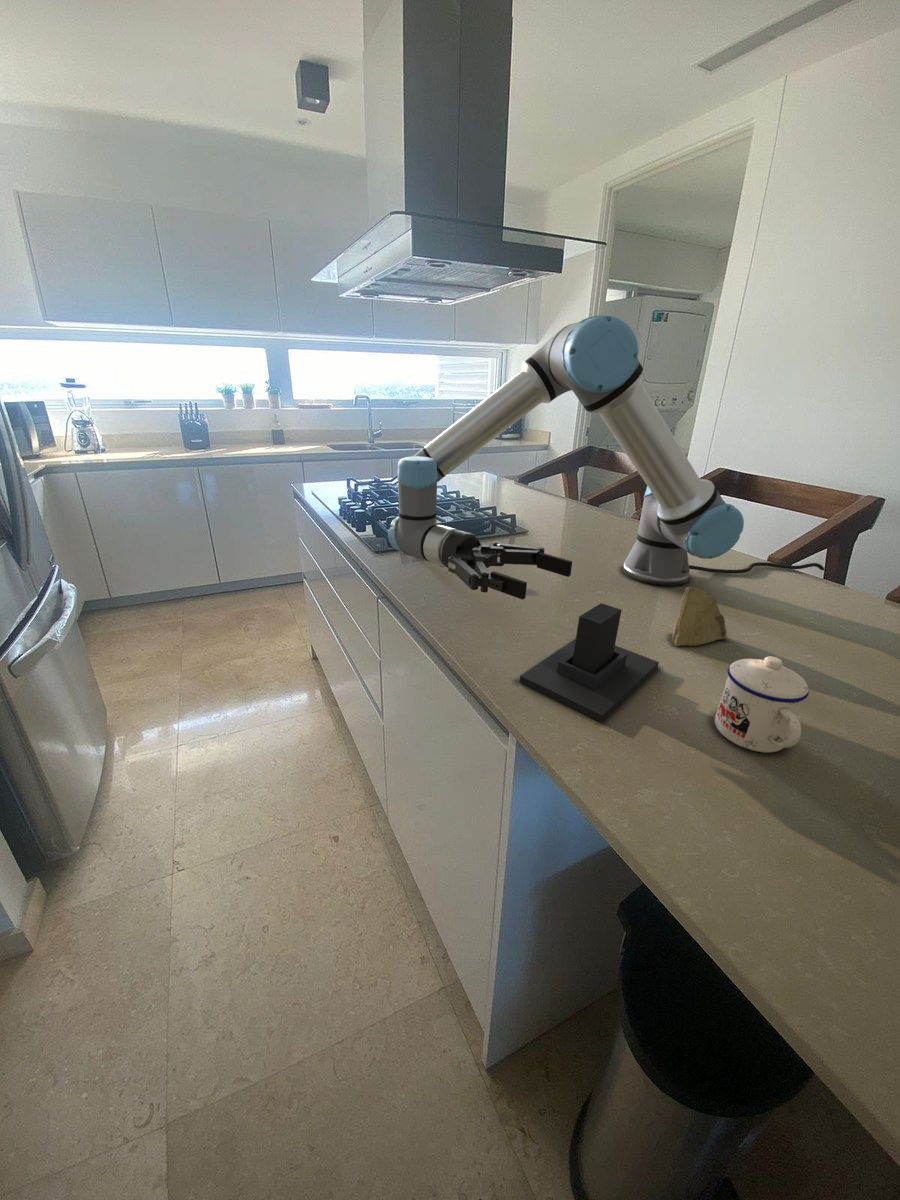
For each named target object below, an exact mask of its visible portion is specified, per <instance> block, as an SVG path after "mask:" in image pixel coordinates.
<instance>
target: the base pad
mask: <svg viewBox="0 0 900 1200" xmlns="http://www.w3.org/2000/svg"><path fill="white" fill-rule="evenodd" d="M575 642H576V638H574V639H573V640H571V641H570V642H568V643H567V644H565V645H563V646H562V647H561V648H560V649H558V650H557V651H555V652H554V653H551V655H549V656H547V657H546V658H544V659H543V660H542V661H540V662H539V663H536V664H535V665H534V666H532V667H530V669H528V670H526V671H525V672H524V673H522V674H520V675H519V683H521V684H522V685H525V686H527V687H528V688H530V689H533V690H534V691H537V692H539V693H541V694H543V695H545V696H547V697H549V698H551V699H553V700H555V701H557V702H559V703H561V704H563V705H565V706H567V707H569V708H571V709H573V710H575V711H578V712H580V713H582V714H583V715H586V716H588V717H590V718H592V719H593V720H596V721H598V722H600V723H602V722H603V721H604V720H606V718H608V716H609V715H611V714H612V713H613V712H614V710H616V709H617V708H618V707H619V706H620V705H621V704H622V703H623V702H624V701H625V700H626V699H628V698H629V696H631V695H632V693H633V692H634V691H636V690H637V688H638V687H639V686H640V685H642V684H643V683H644V682H645V681H646V680H647V679H648V678H649V677H650V676H651V675H652V674H653V673H654V672H655V671H656V670H657V669H658V668H659V664H660V662H659V661H658V660H655V659H652V658H649V657H647V656H644V655H642V654H639V653H636V652H633V651H632V650H629V649H626V648H623V647H620V646H617V645H615V648H614V653H613V658H612V662H611V663H609V664H608V665H607V666H606V667H604V668H603V669H602V670H601V671H600V672H598V673H597V674H596V675H594V674H592V673H590V672H587V671H585V670H583V669H580V668H578V667H576V666H573V665H572V661H573V655H574V648H575Z"/></svg>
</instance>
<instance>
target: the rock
mask: <svg viewBox="0 0 900 1200" xmlns="http://www.w3.org/2000/svg"><path fill="white" fill-rule="evenodd" d="M717 603H718V602H717V599H716V598H714V597H713V596H712V595H710V594H709V593H707V592H706V591H705V590H703V589H701V588H698V587H691V586H687V587H685V590H684V592H683V595H682V597H681V600H680V607H679V615H678V617H677V620H676V622H675V625H674V628H673V632H672V637H671V638H672V640H671V641H672V643H673V644H674V646H675V647H680V646H691V647H692V646H695V647H696V646H701V645H705V644H708V643H713V642H715V641H718V640H719V641H720V640H725V639H727V637H728V635H727V631H728V630H727V628H726V621H725V617H724V615H723V614H722V613H721V610H720V608H719V606H718V604H717Z"/></svg>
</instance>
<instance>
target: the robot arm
mask: <svg viewBox="0 0 900 1200" xmlns="http://www.w3.org/2000/svg"><path fill="white" fill-rule="evenodd" d="M638 354H639V344H638V339H637V336H636V334H635V332H634V330H633V329H632V328H631V326H630V325H629V324H627V322H625V321H624V320H622V319H620V318H618V317H615V316H611V315H592V316H589V317H585V318H584V319H582V320H580V321H578V322H574V323H570V324H568V325H565V326H564V327H562V328H561V329H559V330H557V332H556V333H554V334H553V335H552V336H551V337H550V338H549V339H548V340H547V341H546V342H545V343H544V344H543V345H542V346H541V347H539V348H538V349H537V350H536V351H535V352H534V353H533V354H532V355H531V356H529V357H528V358H527V359H525V360H524V361H523V362H522V363H521V368H520V371H519V372H518V373H516V374H515V375H514V376H512V377H511V378H510V379H508V380H507V381H506V382H505V383H504V384H502V385H501V386H500V387H499V388H497V389H496V390H494V391H493V392H492V393H491V394H489V395H488V396H487V397H486V398H485V399H483V400H482V401H481V402H479V403H478V404H477V405H476V406H474V407H473V408H472V409H470V410H469V411H468V412H467V413H466V414H464V415H463V416H462V417H461V418H459V419H458V420H456V421H455V422H454V423H453V424H452V425H450V426H449V427H448V428H447V429H445V430H444V431H443V432H441V433H440V434H439V435H438V436H436V437H435V438H434V439H432V440H431V441H430V442H429V443H427V444H426V445H425V446H424V447H423V448H421V449H420V450H419V451H417V452H416V453H415V454H414V455H411V456H404V457H402V458H400V459H399V461H398V463H397V474H396V476H397V493H398V497H397V498H398V516H396V517H395V518H393V519H392V521H391V523H390V525H389V529H388V530H387V538H388V542H389V544H390V545H391V547H393V548H394V549H395V550H396V551H399V552H400V553H403V554H404V555H406V556H410V557H414V558H417V559H420V560H423V561H426V562H429V563H432V564H435V565H437V566H439V567H440V568H446V569H448V572H449V573H452V574H455V575H456V577H458V578H459V580H461V581H462V582H463V583H464V584H465V585H466V586H467V587H468V588H469V589H470V590H472V591H477V590H479V587H480V592H481V593H488V591H489V589H492V590H494V591H497V592H499V593H503V594H506V595H509V596H511V597H514V598H516V599H519V600H525V599H526V598H527V597H526V596H527V585H528V581H525V580H523V579H519V578H516V577H512V576H510V575H506V574H504V573H500V572H498V571H495V570H492V571H490V572H489V570H488V569H489V568H490V567H504V566H505V565H524V566H525V565H526V566H536V568H537V569H541V570H544V571H547V572H551V573H554V574H556V575H557V574H558V575H560V576H564V577H567V578H569V577H571V575H572V568H573V567H572V566H573V561H572V560H570V559H567V558H563V557H559V556H555V555H552V554H548V553H545V550H546V549H545V548H544V547H542V546H529V545H520V544H510V543H503V542H500V541H493V543H492V546H491V545H490V544H482V543H481V542H480V540H479V538H478V537H477V536H476V534H473V533H471V532H468V531H467V532H466V531H464V530H459V529H457V528H453V527H450V526H446V525H443V524H439V523H437V517H438V515H437V514H438V512H437V507H438V506H437V504H438V503H437V501H438V483H439V482H440V481H441V480H442V479H444V478H445V477H446V476H447V475H448V474H450V473H451V472H452V471H454V470H455V469H456V468H458V467H459V466H460V465H462V464H463V463H464V462H466V461H467V460H468V459H470V458H471V457H472V456H474V455H475V454H476V453H478V451H480V450H482V449H483V448H484V447H485V446H486V445H488V444H489V443H491V442H492V441H494V440H495V438H497V437H498V436H500V435H501V434H502V433H504V432H505V431H506V430H507V429H509V428H510V427H511V426H513V425H514V424H516V423H517V422H518V421H520V420H521V419H522V418H523V417H525V416H526V415H527V414H528V413H529V412H531V411H532V410H533V409H535V408H537V407H538V406H539V405H541V404H550V403H551V402H552V401H553V400H555V399H556V398H558V397H560V396H561V395H564V394H565V393H568V392H571V391H572V393H573V394H574V395H575V397H576V398H577V400H578V401H579V402H580V404H581V406H582V407H583V408H584V410H585V412H586V413H588V414H596V415H597V414H598V415H599V416H600V418H601V419H602V421H603V422H604V424H605V425H606V427H607V428H608V430H609V431H610V432H611V434H612V436H613V437H614V438H615V440H616V441H617V443H618V445H619V446H620V447H621V449H622V450H623V452H624V453H625V454H626V456H627V458H628V460H630V462H631V464H632V465H633V467H634V468H635V470H636V471H637V472H638V474H639V476H640V477H641V478H642V480H643V481H644V483H645V484H646V489H645V492H644V495H643V503H642V507H641V514H640V519H639V523H638V524H639V525H638V530H637V535H636V539H635V543H634V544H633V546H632V548H631V550H630V552H628V555H627V557H626V559H625V560H624V562H623V566H622V567H623V568H622V571H623V573H624V574H625V575H626V576H628V577H629V578H631V579H633V580H636V581H638V582H641V583H646V584H650V585H656V586H679V585H683V584H685V583H687V582H688V581H689V577H690V570H694V571H701V572H707V573H716V574H745V573H748V572H750V571H751V570H752V569H753V568H754V567H772V568H778V569H787V570H804V569H807V568H813V567H815V568H818V569H819V570H820V571H825V570H826V569H825V567H824V566H823V565H822V564H820V563H817V562H810V563H805V564H800V565H799V564H798V565H790V564H783V563H782V564H781V563H775V562H765V561H761V562H759V561H758V562H753V563H751V564H749V565H748V566H747V567H746V568H739V569H723V568H712V567H704V566H700V565H699V566H698V565H692V564H689V556H688V554H690V555H691V556H694V557H696V558H699V559H704V560H709V559H710V560H711V559H716V558H718V557H721V556H723V555H725V554H727V553H728V552H729V551H731V549H732V548H733V547H734V546H735V545H736V544H737V543H738V541H740V537H741V534H742V533H743V531H744V525H745V520H744V516H743V514H742V512H741V511H740V509H738V508H737V507H736V506H735V505H733V504H730V503H727V502H725V500H724V498H723V497H722V496H721V494H720V492H719V491H718V489H717V488H716V486H715V484H714V483H713V481H711V480H709V479H704V478H700V476H699V475H698V473H697V471H696V470H695V468H694V467H693V465H692V464H691V462H690V461H689V459H688V457H687V455H686V454H685V452H684V450H683V449H682V448H681V445H680V444H679V443H678V441H677V439H676V438H675V436H674V435H673V433H672V431H671V430H670V428H669V426H668V425H667V423H666V421H665V419H664V418H663V416H662V415H661V413H660V412H659V410H658V408H657V407H656V405H655V404H654V402H653V400H652V399H651V397H650V395H649V394H648V391H647V390H646V389H645V387H644V386H643V385H642V380H643V375H644V373H645V369H644V367H643V365H642V363H641V362H640V361H639V359H638ZM498 558H499V559H498Z"/></svg>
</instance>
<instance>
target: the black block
mask: <svg viewBox="0 0 900 1200" xmlns="http://www.w3.org/2000/svg"><path fill="white" fill-rule="evenodd" d="M621 615H622V609H620V608H617V607H615V606H612V605H610V604H609V605H608V604H605V603H602V602H600V603H599V604H597V605H595V606H594V607H592V608H591V609H589V610H587V611H586V612H584V613H583V614H581V615H579V616H578V624H577V629H576V634H575V639H576V642H575V648H574V655H573V661H572V665H573V666H576V667H578V668H580V669H583V670H585V671H587V672H590V673H592V674H594V675H596V674H597V673H598V672H600V671H601V670H602V669H603V668H604V667H606V666H607V665H608V664H609V663H611V662H612V658H613V653H614V648H615V646H616V642H617V638H618V637H617V636H618V632H619V626H620V621H621Z"/></svg>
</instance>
